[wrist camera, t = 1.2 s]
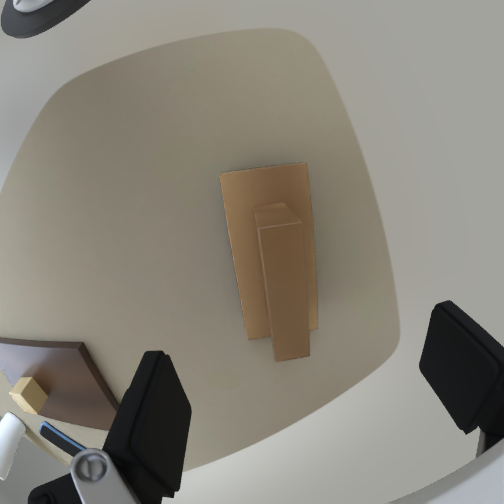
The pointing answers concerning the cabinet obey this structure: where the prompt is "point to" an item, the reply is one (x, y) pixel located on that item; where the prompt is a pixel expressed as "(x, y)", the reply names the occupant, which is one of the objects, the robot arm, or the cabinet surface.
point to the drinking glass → (9, 441)
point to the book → (61, 380)
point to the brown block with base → (274, 254)
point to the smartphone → (60, 440)
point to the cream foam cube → (28, 395)
